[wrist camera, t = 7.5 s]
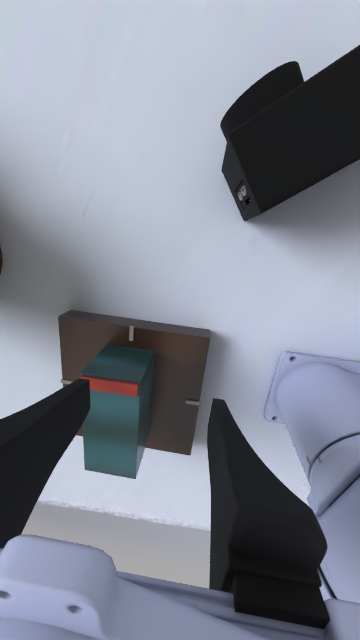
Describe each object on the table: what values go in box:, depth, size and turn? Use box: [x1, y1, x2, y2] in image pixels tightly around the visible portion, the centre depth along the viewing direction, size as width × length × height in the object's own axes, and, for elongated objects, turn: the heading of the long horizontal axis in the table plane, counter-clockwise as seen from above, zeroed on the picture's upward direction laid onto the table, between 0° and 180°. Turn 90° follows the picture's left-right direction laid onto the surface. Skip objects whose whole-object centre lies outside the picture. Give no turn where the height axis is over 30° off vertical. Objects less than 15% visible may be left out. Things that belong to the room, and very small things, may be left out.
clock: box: [58, 310, 210, 455], centre depth 25 cm, size 14×14×2 cm
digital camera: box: [220, 45, 360, 221], centre depth 14 cm, size 10×5×7 cm, turn 119°
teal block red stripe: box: [80, 344, 155, 479], centre depth 21 cm, size 10×5×5 cm, turn 174°
